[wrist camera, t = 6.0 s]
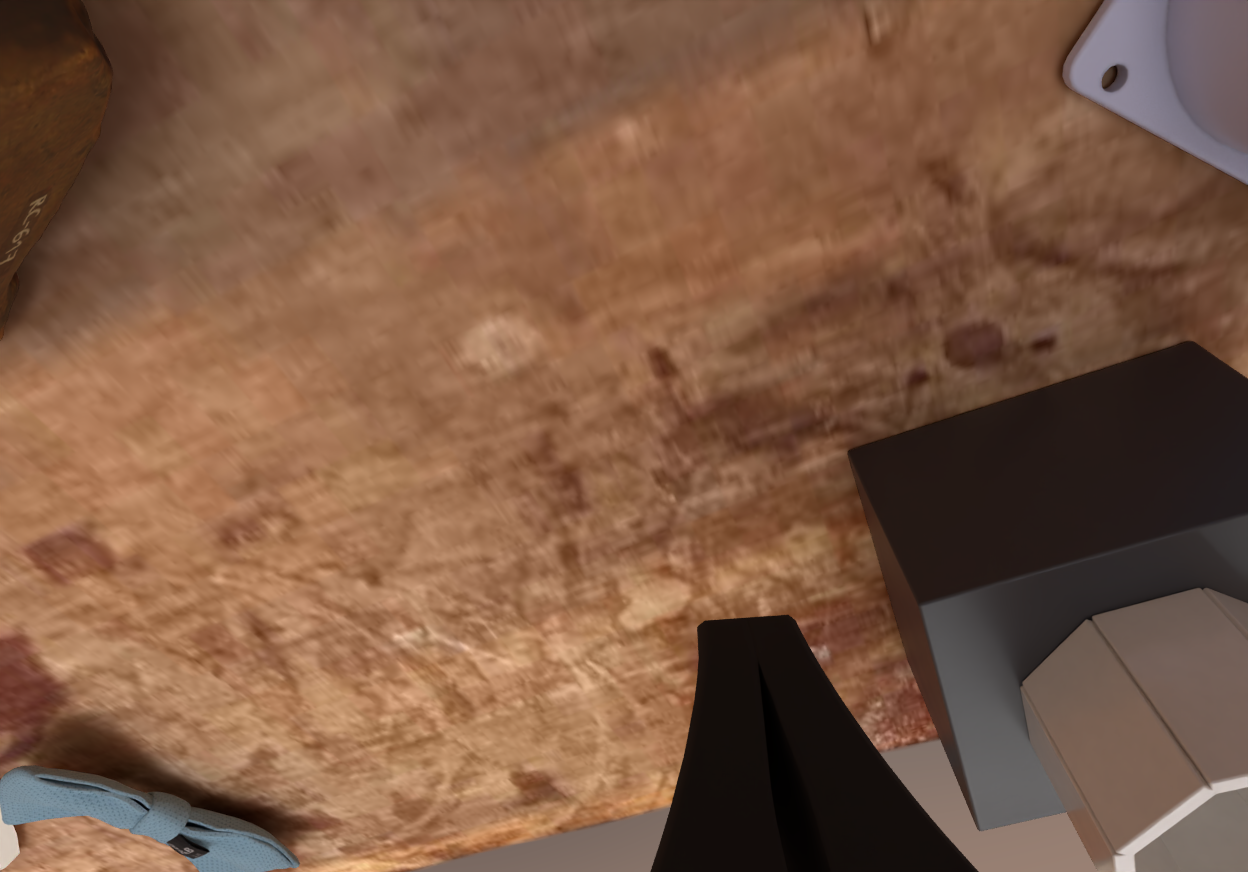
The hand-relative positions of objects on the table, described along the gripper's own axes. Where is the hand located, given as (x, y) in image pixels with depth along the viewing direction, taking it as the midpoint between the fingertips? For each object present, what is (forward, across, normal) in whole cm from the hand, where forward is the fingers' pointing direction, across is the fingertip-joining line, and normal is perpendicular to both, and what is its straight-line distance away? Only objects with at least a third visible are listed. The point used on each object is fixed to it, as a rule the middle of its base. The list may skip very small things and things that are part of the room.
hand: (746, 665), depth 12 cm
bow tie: (+10, +22, +18) cm, 30 cm away
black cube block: (+10, -10, +6) cm, 15 cm away
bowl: (+4, -10, +6) cm, 12 cm away
